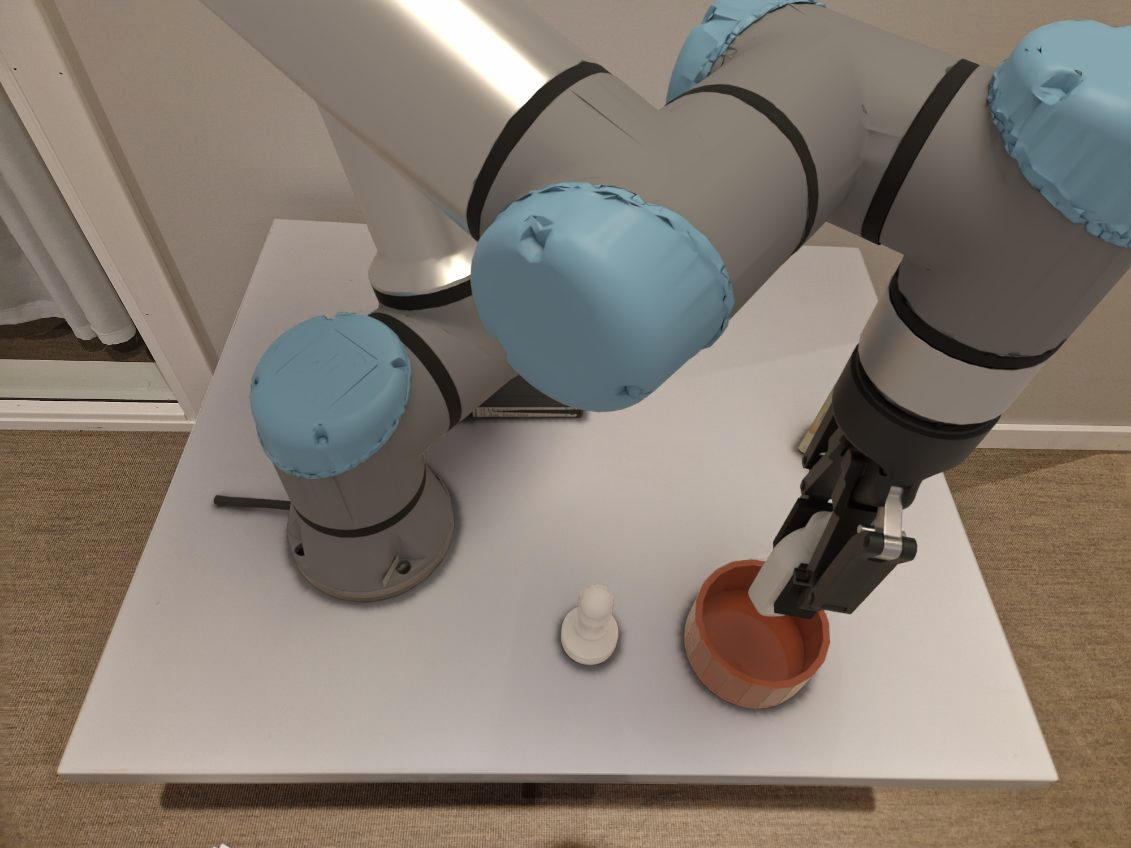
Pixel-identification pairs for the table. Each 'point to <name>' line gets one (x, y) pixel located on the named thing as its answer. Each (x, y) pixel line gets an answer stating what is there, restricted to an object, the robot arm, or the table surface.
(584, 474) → the table surface
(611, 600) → the chess pawn
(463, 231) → the robot arm
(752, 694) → the crock
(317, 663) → the table surface
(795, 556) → the eye dropper bottle
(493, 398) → the vhs tape
